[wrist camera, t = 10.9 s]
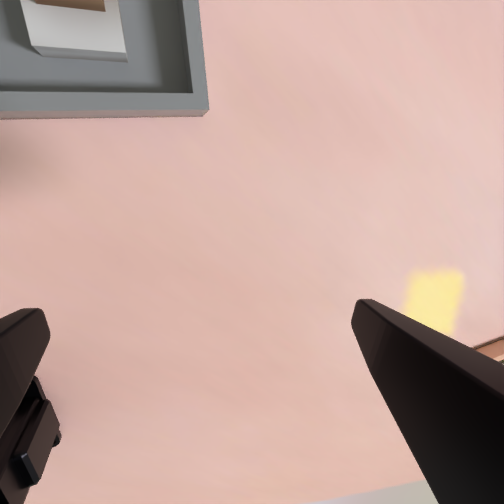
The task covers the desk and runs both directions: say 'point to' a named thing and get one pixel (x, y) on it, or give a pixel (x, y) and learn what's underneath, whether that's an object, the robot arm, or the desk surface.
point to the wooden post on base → (76, 29)
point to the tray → (109, 68)
